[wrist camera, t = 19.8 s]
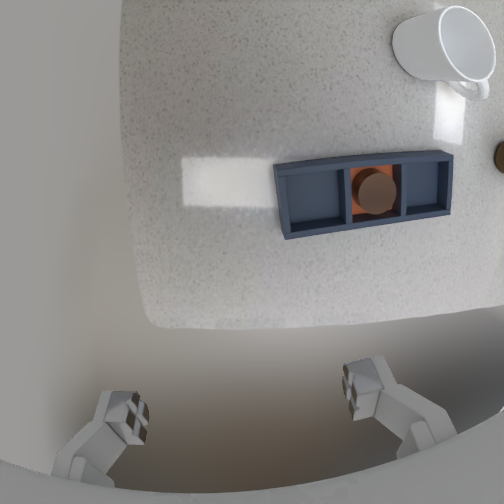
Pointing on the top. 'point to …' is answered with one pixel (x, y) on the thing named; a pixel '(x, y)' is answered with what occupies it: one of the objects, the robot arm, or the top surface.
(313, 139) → the top surface
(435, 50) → the mug
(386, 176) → the cylinder
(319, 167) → the grid
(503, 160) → the kendama
